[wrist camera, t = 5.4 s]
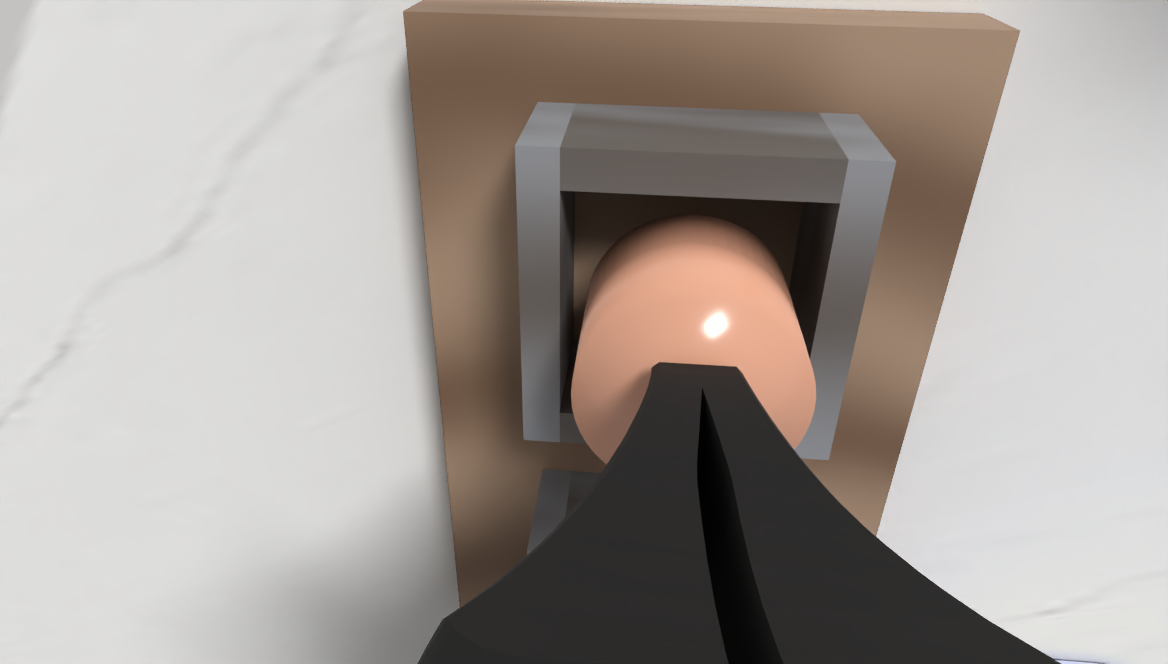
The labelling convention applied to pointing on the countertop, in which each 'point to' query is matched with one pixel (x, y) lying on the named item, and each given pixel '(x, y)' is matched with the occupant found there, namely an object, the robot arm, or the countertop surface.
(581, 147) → the button panel
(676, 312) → the terracotta plunger
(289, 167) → the countertop surface
